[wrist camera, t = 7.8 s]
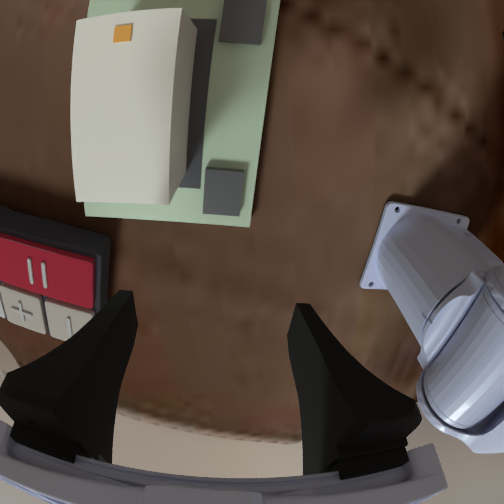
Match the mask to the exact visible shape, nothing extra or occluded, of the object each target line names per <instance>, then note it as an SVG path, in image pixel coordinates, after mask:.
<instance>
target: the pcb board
mask: <svg viewBox="0 0 504 504" xmlns="http://www.w3.org/2000/svg"><path fill="white" fill-rule="evenodd" d="M279 6H280V0H90V3H89V9H88V15H87V18H90V17H96V16H101V15H107V14H114V13H121V12H129V11H138V10H150V9H165V8H182V9H183V10H184V11H185V13H186V14H187V15H188V17H189V18H190V20H191V21H192V22H193V24H194V25H195V26H196V28H197V37H196V46H195V54H194V64H193V74H192V85H191V97H190V110H189V124H188V141H187V162H186V173H185V175H184V177H183V179H182V181H181V183H180V185H179V186H178V188H177V190H176V192H175V194H174V196H173V198H172V200H171V202H170V204H169V205H157V204H135V203H106V202H84V208H85V216H92V217H111V218H129V219H145V220H160V221H175V222H189V223H203V224H216V225H229V226H241V227H250V220H251V212H252V205H253V197H254V190H255V182H256V174H257V167H258V159H259V152H260V144H261V137H262V129H263V122H264V114H265V107H266V100H267V92H268V85H269V78H270V70H271V63H272V56H273V49H274V42H275V34H276V27H277V20H278V13H279Z"/></svg>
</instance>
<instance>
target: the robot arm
mask: <svg viewBox="0 0 504 504" xmlns="http://www.w3.org/2000/svg"><path fill="white" fill-rule="evenodd" d="M396 207H398V209H397V210H396V211H395V208H396ZM457 220H458V221H457ZM468 225H469V218H468V217H466V216H463V215H458V214H454V213H449V212H445V211H440V210H435V209H431V208H426V207H421V206H416V205H410V204H405V203H400V202H394V201H389V202H388V203H387V204H386V205H385V208H384V211H383V215H382V218H381V221H380V224H379V227H378V231H377V234H376V237H375V240H374V243H373V246H372V249H371V252H370V255H369V258H368V260H367V263H366V266H365V269H364V272H363V274H362V277H361V280H360V286H361V287H362V288H364V289H388V291H389V292H390V294H391V295H392V297H393V299H394V300H395V302H396V304H397V305H398V307H399V309H400V311H401V312H402V314H403V316H404V317H405V319H406V321H407V323H408V324H409V326H410V328H411V330H412V332H413V333H414V335H415V337H416V339H417V341H418V342H419V344H420V346H421V352H420V354H419V356H418V357H417V358H418V360H419V362H420V364H421V366H422V368H423V371H422V373H421V374H420V376H419V378H418V381H417V385H416V394H417V399H418V403H419V405H420V408H421V410H422V411H423V413H424V415H425V416H426V417H427V419H428V420H429V421H430V422H431V423H432V425H434V426H435V427H436V428H437V429H439V430H440V431H442V432H444V433H446V434H449V435H452V436H454V437H456V438H458V439H460V440H461V441H463V442H464V443H465V444H466V445H467V446H468V447H469V448H470V449H471V450H472V451H473V452H474V453H501V452H504V264H503V262H502V261H501V260H500V259H499V258H498V257H497V256H496V255H495V254H494V253H493V252H492V251H490V250H489V249H488V248H487V247H486V246H485V245H484V244H483V243H482V242H481V241H480V240H478V239H477V238H476V237H475V236H474V235H473V234H472V233H471V232H469V231H468V230H467V227H468ZM370 282H372V283H371V284H369V283H370ZM137 327H138V322H137V316H136V310H135V304H134V297H133V291H126V290H119V291H118V292H117V293H116V294H115V295H114V296H113V297H112V298H111V299H110V300H109V301H108V302H107V303H106V304H105V305H104V306H103V307H102V309H101V310H100V311H99V312H98V313H97V314H96V315H95V316H94V317H93V318H92V319H91V320H89V321H88V322H87V323H86V324H85V325H84V326H83V327H82V328H81V329H80V330H79V331H77V332H76V333H75V334H74V335H73V336H72V337H70V338H69V339H68V340H66V341H65V342H64V343H62V344H61V345H60V346H58V347H56V348H55V349H53V350H52V351H50V352H49V353H47V354H46V355H44V356H42V357H41V358H39V359H37V360H35V361H33V362H31V363H29V364H27V365H25V366H23V367H20V368H18V369H16V370H14V371H11V372H8V373H7V375H6V377H5V379H4V381H3V383H2V385H1V387H0V406H1V407H2V408H3V409H4V411H5V412H6V413H7V414H8V415H9V416H10V417H11V418H12V419H13V421H14V425H13V427H11V426H10V425H8V424H7V423H5V422H3V421H0V479H1V480H2V481H4V482H6V483H8V484H10V485H12V486H13V487H16V488H17V489H20V490H22V491H24V492H26V493H28V494H30V495H32V496H35V497H37V498H39V499H41V500H43V501H46V502H48V503H50V504H419V503H421V502H423V501H424V500H427V499H429V498H431V497H432V496H434V495H436V494H438V493H440V492H442V491H443V490H445V489H447V488H448V485H447V482H446V479H445V476H444V473H443V470H442V467H441V464H440V461H439V458H438V455H437V453H436V450H435V447H434V445H433V444H432V443H431V444H428V445H424V446H421V447H418V448H415V449H412V450H410V451H408V452H407V451H406V448H405V446H407V445H408V442H407V439H406V437H407V436H408V435H409V434H410V433H411V432H412V431H413V430H414V429H416V427H417V426H418V425H419V424H420V422H421V420H422V417H421V414H420V411H419V409H418V406H417V404H416V402H415V400H414V399H412V398H410V397H408V396H406V395H404V394H402V393H400V392H399V391H397V390H395V389H394V388H392V387H390V386H389V385H387V384H386V383H384V382H383V381H381V380H380V379H379V378H377V377H376V376H375V375H373V374H372V373H371V372H370V371H368V370H367V369H366V368H365V367H363V366H362V365H361V364H360V363H359V362H358V361H357V360H356V359H355V358H354V357H353V356H352V355H351V354H350V353H349V352H348V351H347V350H346V349H345V348H344V347H343V346H342V345H341V344H340V342H339V341H338V340H337V339H336V338H335V336H334V335H333V334H332V333H331V332H330V330H329V329H328V328H327V326H326V325H325V324H324V323H323V321H322V320H321V319H320V317H319V316H318V314H317V313H316V312H315V310H314V309H313V308H312V306H311V305H310V304H305V303H296V306H295V309H294V313H293V317H292V320H291V324H290V327H289V331H288V334H287V338H288V349H289V357H290V362H291V366H292V371H293V375H294V380H295V384H296V389H297V393H298V399H299V405H300V415H301V428H302V444H303V476H292V477H277V478H210V477H195V476H184V475H174V474H165V473H159V472H152V471H145V470H140V469H134V468H129V467H124V466H119V465H114V464H112V447H113V433H114V424H115V415H116V408H117V402H118V396H119V391H120V387H121V383H122V380H123V377H124V373H125V370H126V367H127V364H128V361H129V358H130V355H131V352H132V349H133V346H134V342H135V337H136V332H137Z"/></svg>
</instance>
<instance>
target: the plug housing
mask: <svg viewBox="0 0 504 504" xmlns="http://www.w3.org/2000/svg"><path fill="white" fill-rule="evenodd" d="M196 37H197V28H196V26H195V25H194V24H193V22H192V21H191V20H190V18H189V17H188V15H187V14H186V13H185V11H184V10H183V9H182V8H165V9H150V10H138V11H129V12H121V13H114V14H107V15H101V16H96V17H90V18H85V19H81V20H77V23H76V30H75V39H74V48H73V60H72V75H71V146H72V162H73V175H74V185H75V194H76V202H106V203H135V204H157V205H169V204H170V202H171V200H172V198H173V196H174V194H175V192H176V190H177V188H178V186H179V185H180V183H181V181H182V179H183V177H184V175H185V173H186V162H187V141H188V124H189V110H190V97H191V85H192V74H193V64H194V54H195V46H196Z"/></svg>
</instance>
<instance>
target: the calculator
mask: <svg viewBox="0 0 504 504" xmlns="http://www.w3.org/2000/svg"><path fill="white" fill-rule="evenodd" d="M110 251H111V239H110V237H109V236H107V235H104V234H101V233H97V232H93V231H90V230H86V229H82V228H79V227H75V226H72V225H68V224H65V223H61V222H57V221H53V220H49V219H45V218H41V217H37V216H33V215H29V214H26V213H22V212H18V211H14V210H10V209H9V208H8V207H6V206H3V205H0V317H3V318H6V319H8V321H10V322H12V323H14V324H17V325H20V326H22V327H25V328H28V329H31V330H33V331H36V332H39V333H42V334H46V333H48V334H50V335H51V336H52V337H54V338H57V339H61V340H64V341H66V340H68V339H69V338H70V337H72V336H73V335H74V334H75V333H76V332H77V331H79V330H80V329H81V328H82V327H83V326H84V325H85V324H86V323H87V322H88V321H89V320H91V319H92V318H93V317H94V316H95V315H96V314H97V313H98V312H99V311H100V310H101V309H102V307H103V306H104V305H105V304H106V303H107V302H108V280H109V264H110Z"/></svg>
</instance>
